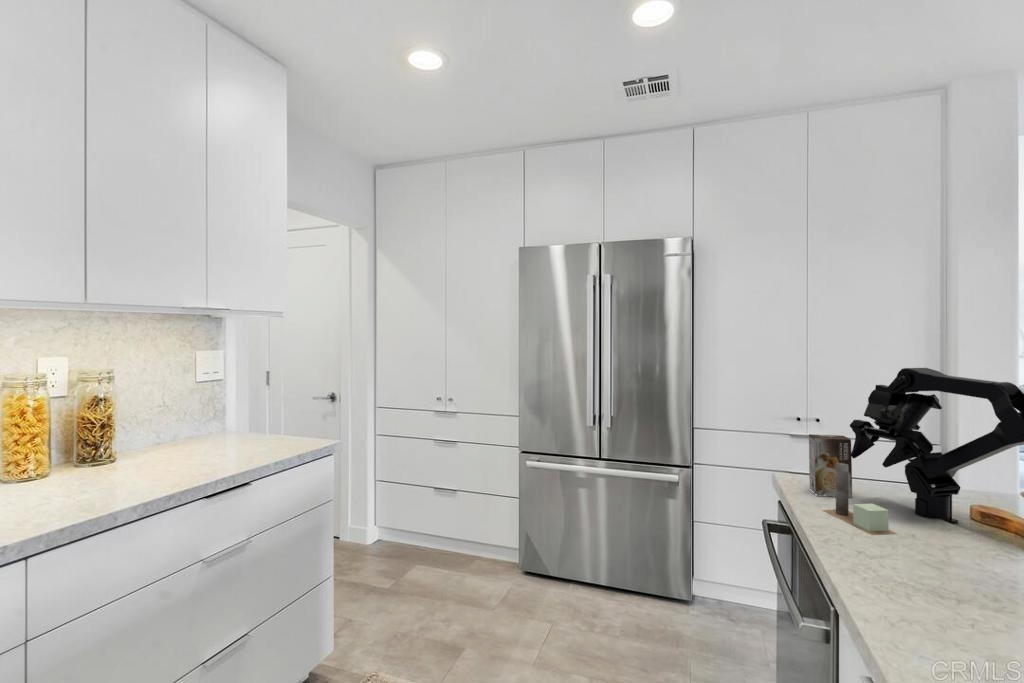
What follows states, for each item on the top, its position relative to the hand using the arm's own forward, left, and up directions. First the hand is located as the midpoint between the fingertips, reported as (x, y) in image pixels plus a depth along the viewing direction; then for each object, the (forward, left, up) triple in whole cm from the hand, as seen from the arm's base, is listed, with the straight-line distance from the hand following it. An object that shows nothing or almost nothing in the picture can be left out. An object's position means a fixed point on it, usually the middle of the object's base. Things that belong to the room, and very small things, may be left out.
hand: (867, 461), depth 127 cm
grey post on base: (+7, +6, -13) cm, 16 cm away
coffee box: (-3, -17, -14) cm, 22 cm away
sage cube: (+7, +10, -12) cm, 17 cm away
